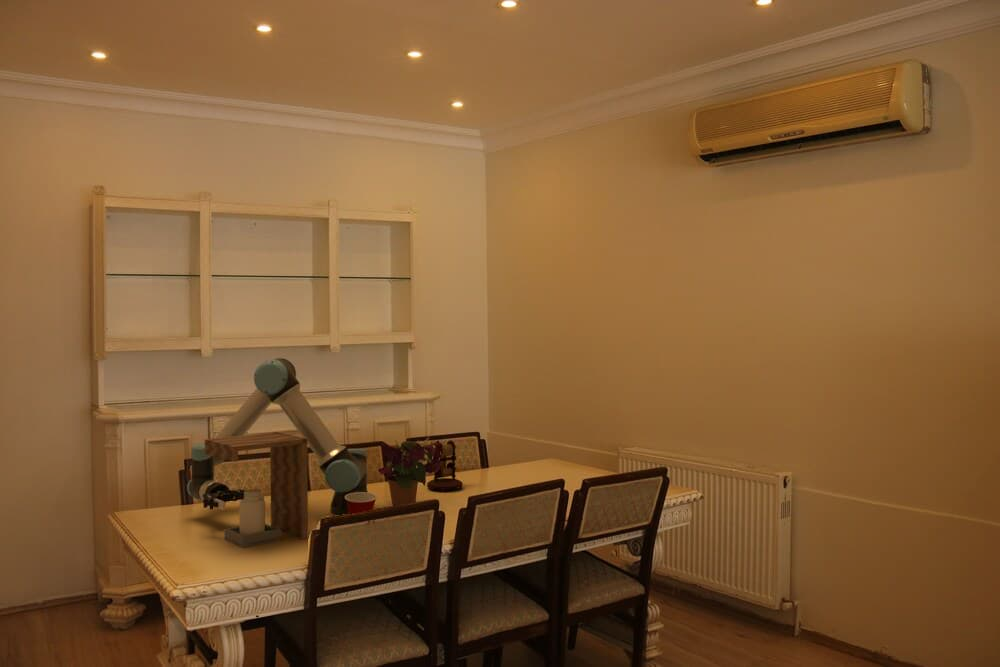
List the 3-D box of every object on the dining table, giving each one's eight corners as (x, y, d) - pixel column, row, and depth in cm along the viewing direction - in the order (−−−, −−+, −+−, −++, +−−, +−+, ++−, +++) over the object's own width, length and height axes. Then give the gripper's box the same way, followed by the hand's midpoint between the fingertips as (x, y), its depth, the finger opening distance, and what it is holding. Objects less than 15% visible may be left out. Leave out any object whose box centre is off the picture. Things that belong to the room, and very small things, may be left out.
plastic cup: (350, 536, 279) (350, 500, 278) (340, 529, 288) (340, 494, 288) (381, 532, 284) (381, 496, 283) (371, 525, 293) (371, 490, 293)
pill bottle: (270, 534, 277) (270, 488, 277) (255, 540, 270) (255, 493, 269) (249, 532, 280) (249, 487, 280) (234, 538, 272) (234, 492, 272)
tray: (224, 539, 275) (224, 528, 275) (261, 532, 284) (261, 522, 284) (243, 547, 266) (242, 536, 266) (280, 540, 274) (280, 529, 274)
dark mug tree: (447, 484, 365) (447, 437, 365) (469, 489, 354) (469, 441, 354) (419, 488, 355) (419, 441, 355) (442, 494, 344) (441, 445, 344)
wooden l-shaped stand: (205, 539, 275) (204, 439, 274) (276, 526, 292) (275, 432, 291) (235, 553, 260) (234, 446, 259) (307, 538, 277) (307, 438, 276)
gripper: (248, 498, 303) (278, 508, 287) (179, 509, 285) (207, 520, 270) (248, 477, 302) (278, 486, 287) (179, 487, 285) (207, 497, 270)
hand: (244, 503), depth 278 cm, fingers open, 13 cm apart
